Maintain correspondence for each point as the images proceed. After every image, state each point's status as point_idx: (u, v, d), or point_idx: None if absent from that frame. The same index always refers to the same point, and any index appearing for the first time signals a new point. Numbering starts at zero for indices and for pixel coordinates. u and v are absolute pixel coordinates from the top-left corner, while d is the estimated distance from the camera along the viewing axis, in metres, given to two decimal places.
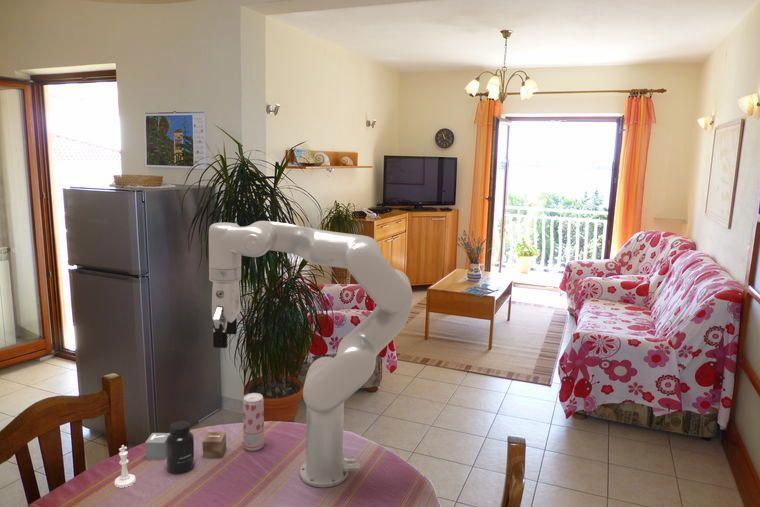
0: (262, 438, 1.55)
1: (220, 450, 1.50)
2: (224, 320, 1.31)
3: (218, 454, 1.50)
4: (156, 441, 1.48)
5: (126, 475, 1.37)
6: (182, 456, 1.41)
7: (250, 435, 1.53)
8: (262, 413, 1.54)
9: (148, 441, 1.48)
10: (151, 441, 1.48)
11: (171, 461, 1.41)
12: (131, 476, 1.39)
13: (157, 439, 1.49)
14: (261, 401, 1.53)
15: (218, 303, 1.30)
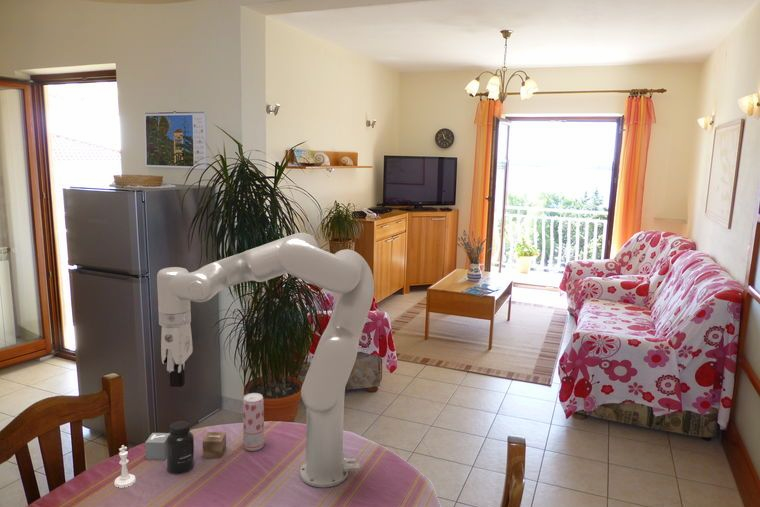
0: (262, 438, 1.55)
1: (220, 450, 1.50)
2: (177, 364, 1.38)
3: (218, 454, 1.50)
4: (156, 441, 1.48)
5: (126, 475, 1.37)
6: (182, 456, 1.41)
7: (250, 435, 1.53)
8: (262, 413, 1.54)
9: (148, 441, 1.48)
10: (151, 441, 1.48)
11: (171, 461, 1.41)
12: (131, 476, 1.39)
13: (157, 439, 1.49)
14: (261, 401, 1.53)
15: (167, 347, 1.34)
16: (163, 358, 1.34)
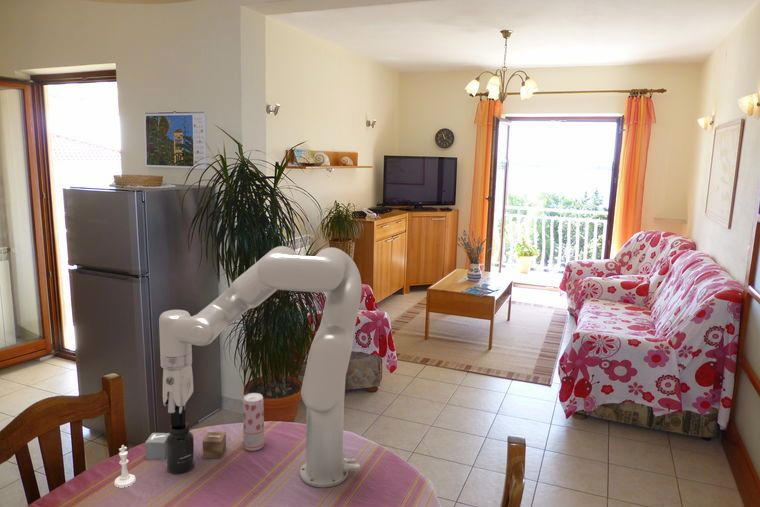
0: (262, 438, 1.55)
1: (220, 450, 1.50)
2: None
3: (218, 454, 1.50)
4: (156, 441, 1.48)
5: (126, 475, 1.37)
6: (182, 456, 1.41)
7: (250, 435, 1.53)
8: (262, 413, 1.54)
9: (148, 441, 1.48)
10: (151, 441, 1.48)
11: (171, 461, 1.41)
12: (131, 476, 1.39)
13: (157, 439, 1.49)
14: (261, 401, 1.53)
15: (168, 389, 1.36)
16: (164, 400, 1.36)
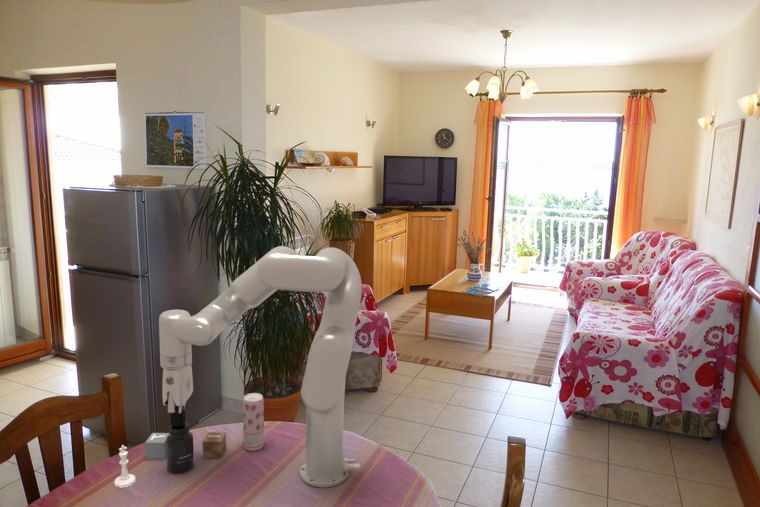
0: (262, 438, 1.55)
1: (220, 450, 1.50)
2: None
3: (218, 454, 1.50)
4: (156, 441, 1.48)
5: (126, 475, 1.37)
6: (181, 456, 1.41)
7: (250, 435, 1.53)
8: (262, 413, 1.54)
9: (148, 441, 1.48)
10: (151, 441, 1.48)
11: (171, 461, 1.41)
12: (131, 476, 1.39)
13: (157, 439, 1.49)
14: (261, 401, 1.53)
15: (168, 389, 1.36)
16: (164, 400, 1.36)
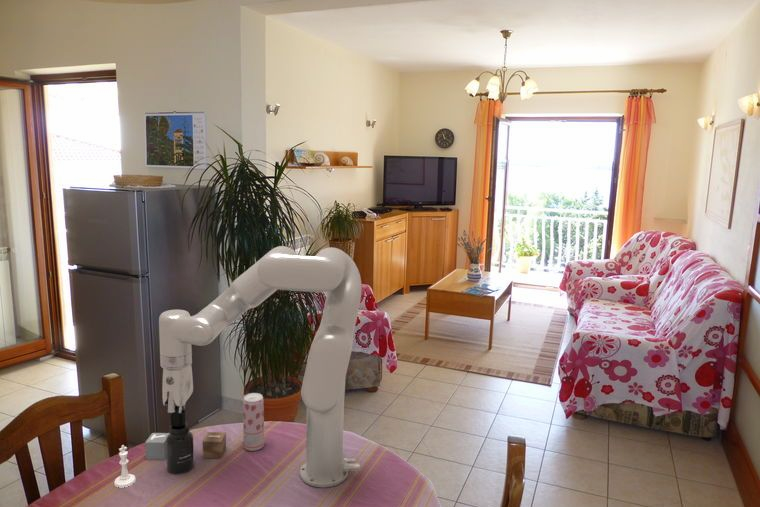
0: (262, 438, 1.55)
1: (220, 450, 1.50)
2: None
3: (218, 454, 1.50)
4: (156, 441, 1.48)
5: (126, 475, 1.37)
6: (181, 456, 1.41)
7: (250, 435, 1.53)
8: (262, 413, 1.54)
9: (148, 441, 1.48)
10: (151, 441, 1.48)
11: (171, 461, 1.41)
12: (131, 476, 1.39)
13: (157, 439, 1.49)
14: (261, 401, 1.53)
15: (168, 389, 1.36)
16: (164, 400, 1.36)
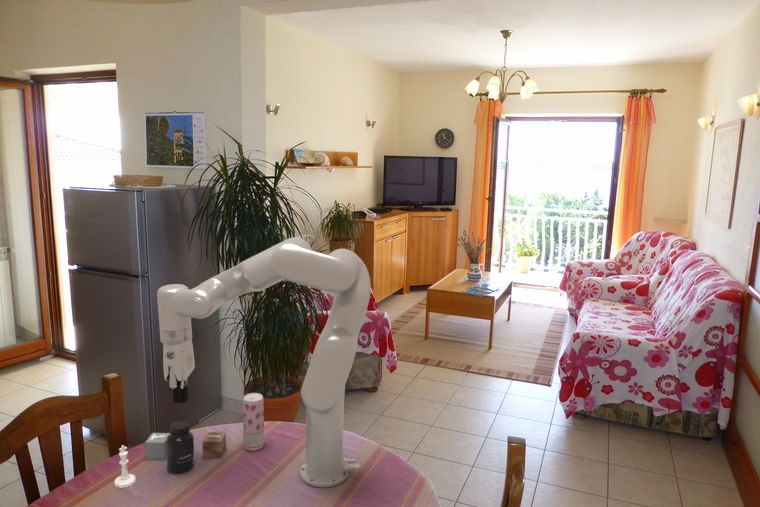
0: (262, 438, 1.55)
1: (220, 450, 1.50)
2: None
3: (218, 454, 1.50)
4: (156, 441, 1.48)
5: (126, 475, 1.37)
6: (182, 456, 1.41)
7: (250, 435, 1.53)
8: (262, 413, 1.54)
9: (148, 441, 1.48)
10: (151, 441, 1.48)
11: (171, 461, 1.41)
12: (131, 476, 1.39)
13: (157, 439, 1.49)
14: (261, 401, 1.53)
15: (169, 364, 1.34)
16: (165, 375, 1.35)
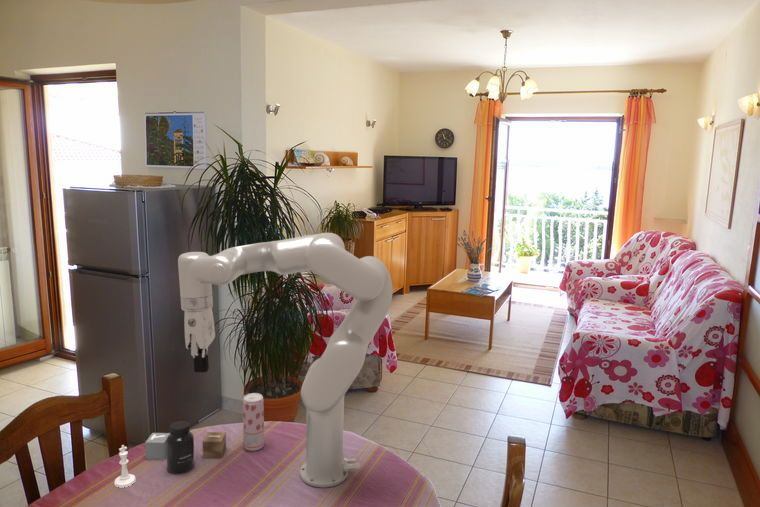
0: (262, 438, 1.55)
1: (220, 450, 1.50)
2: (201, 348, 1.37)
3: (218, 454, 1.50)
4: (156, 441, 1.48)
5: (126, 475, 1.37)
6: (182, 456, 1.41)
7: (250, 435, 1.53)
8: (262, 413, 1.54)
9: (148, 441, 1.48)
10: (151, 441, 1.48)
11: (171, 461, 1.41)
12: (131, 476, 1.39)
13: (157, 439, 1.49)
14: (261, 401, 1.53)
15: (190, 331, 1.33)
16: (187, 343, 1.34)
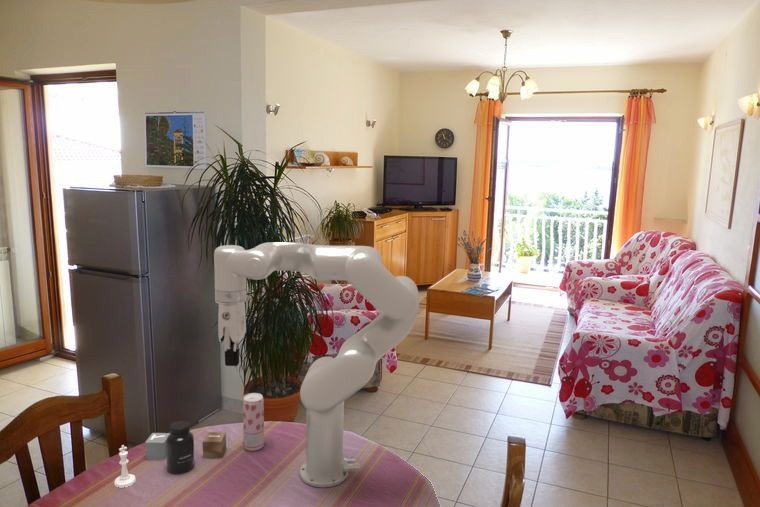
0: (262, 438, 1.55)
1: (220, 450, 1.50)
2: (233, 342, 1.37)
3: (218, 454, 1.50)
4: (156, 441, 1.48)
5: (126, 475, 1.37)
6: (182, 456, 1.41)
7: (250, 435, 1.53)
8: (262, 413, 1.54)
9: (148, 441, 1.48)
10: (151, 441, 1.48)
11: (171, 461, 1.41)
12: (131, 476, 1.39)
13: (157, 439, 1.49)
14: (261, 401, 1.53)
15: (224, 324, 1.33)
16: (220, 336, 1.33)
